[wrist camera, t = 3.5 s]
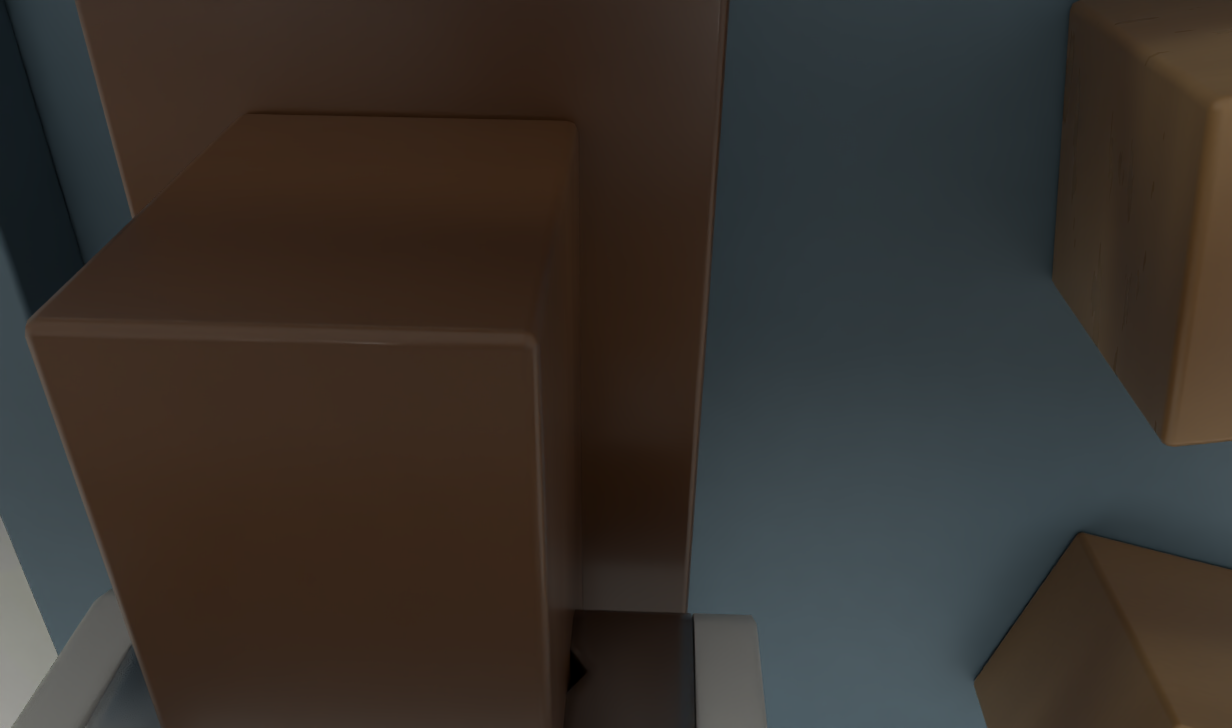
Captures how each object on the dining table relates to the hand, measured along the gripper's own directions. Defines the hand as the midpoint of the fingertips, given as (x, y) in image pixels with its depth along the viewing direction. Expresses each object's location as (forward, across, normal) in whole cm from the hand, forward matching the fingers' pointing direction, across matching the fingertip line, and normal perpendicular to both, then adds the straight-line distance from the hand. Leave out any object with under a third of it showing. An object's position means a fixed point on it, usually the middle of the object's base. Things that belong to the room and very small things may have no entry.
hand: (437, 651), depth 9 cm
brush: (+4, 0, 0) cm, 4 cm away
